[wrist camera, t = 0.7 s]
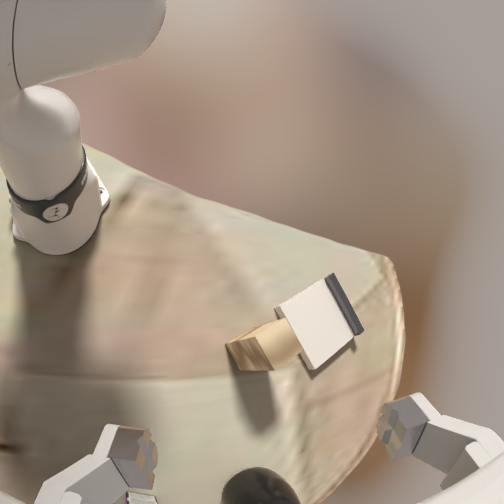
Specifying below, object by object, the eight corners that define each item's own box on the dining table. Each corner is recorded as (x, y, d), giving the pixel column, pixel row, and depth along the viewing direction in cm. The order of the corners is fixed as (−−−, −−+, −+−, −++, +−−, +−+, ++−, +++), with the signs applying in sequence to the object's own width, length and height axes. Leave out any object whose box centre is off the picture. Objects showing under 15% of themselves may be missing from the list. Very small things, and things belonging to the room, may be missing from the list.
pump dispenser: (201, 492, 33) (234, 537, 20) (242, 450, 39) (289, 479, 26) (246, 518, 33) (290, 557, 20) (283, 478, 39) (337, 505, 26)
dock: (274, 308, 50) (283, 303, 47) (322, 278, 57) (333, 272, 54) (308, 369, 49) (320, 369, 46) (352, 333, 55) (364, 330, 52)
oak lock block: (224, 343, 45) (255, 336, 35) (249, 329, 47) (285, 317, 37) (240, 370, 44) (274, 370, 34) (264, 354, 47) (303, 349, 36)
